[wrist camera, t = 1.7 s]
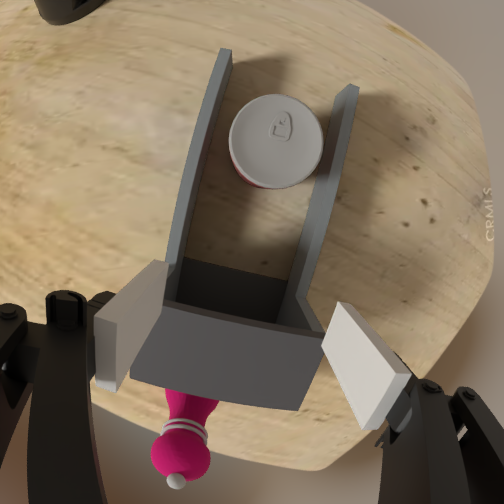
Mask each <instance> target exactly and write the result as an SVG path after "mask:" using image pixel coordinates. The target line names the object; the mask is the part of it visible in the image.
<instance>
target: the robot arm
mask: <svg viewBox="0 0 504 504" xmlns="http://www.w3.org/2000/svg"><path fill="white" fill-rule="evenodd" d="M34 1H35V4H36V6H37V8H38V10H39V14H40V16H41V17H42V18H43V19H44V20H45V21H46V22H48V23H49V24H51V25H64V24H68V23H71V22H73V21H75V20H78V19H80V18H81V17H83V16H85V15H87V14H88V13H90V12H91V11H93V10H94V9H95V8H97V7H98V6H99V5H101V4H102V3H103V2H104V1H105V0H34ZM168 267H169V263H167V262H163V261H159V260H155V259H154V260H153V261H152V262H151V263H150V264H149V265H148V266H147V267H145V268H144V269H143V270H142V271H141V272H140V273H139V274H138V275H137V276H136V277H134V278H133V279H132V280H131V281H130V282H129V283H128V284H127V285H126V286H125V287H124V288H123V289H121V290H120V291H119V292H118V293H117V294H115V293H112V292H109V291H105V292H102V293H99V294H96V295H95V296H94V297H93V298H92V299H91V300H89V301H88V302H87V300H86V298H85V297H84V296H83V295H82V294H79V293H77V292H74V291H69V290H59V291H54V292H51V293H49V294H48V295H47V296H46V318H47V324H46V325H45V324H38V323H33V322H29V321H27V314H26V310H25V309H24V308H23V307H21V306H19V305H16V304H12V303H4V304H2V305H0V468H1V465H2V462H3V459H4V456H5V454H6V451H7V448H8V445H9V443H10V440H11V437H12V435H13V433H14V430H15V428H16V425H17V423H18V421H19V418H20V416H21V414H22V411H23V409H24V406H25V405H26V403H27V400H28V398H29V396H30V394H31V392H32V390H33V392H32V399H31V407H30V416H29V428H28V429H29V430H28V446H27V482H28V499H29V504H108V502H107V498H106V494H105V490H104V485H103V481H102V476H101V471H100V466H99V460H98V455H97V448H96V441H95V434H94V426H93V417H92V406H91V393H90V380H91V379H92V377H93V376H94V374H95V382H96V386H97V387H100V388H103V389H106V390H108V391H111V392H114V393H117V391H118V389H119V387H120V385H121V383H122V381H123V380H124V378H125V376H126V374H127V372H128V370H129V369H130V367H131V365H132V363H133V361H134V360H135V358H136V356H137V354H138V352H139V351H140V349H141V347H142V345H143V343H144V342H145V340H146V338H147V336H148V335H149V333H150V331H151V329H152V328H153V326H154V324H155V323H156V321H157V319H158V317H159V316H160V314H161V311H162V304H163V297H164V291H165V285H166V278H167V273H168ZM321 347H322V349H323V351H324V353H325V355H326V357H327V359H328V361H329V363H330V365H331V367H332V369H333V371H334V373H335V375H336V377H337V379H338V381H339V383H340V385H341V387H342V390H343V392H344V394H345V396H346V398H347V400H348V402H349V404H350V406H351V408H352V410H353V412H354V414H355V417H356V419H357V421H358V423H359V425H360V427H361V429H362V430H374V429H378V428H379V427H380V425H381V424H382V422H383V421H384V420H385V418H386V419H387V421H388V423H389V425H388V427H387V428H386V430H385V431H384V433H383V434H382V435H381V437H380V438H379V439H378V441H377V442H376V444H375V447H377V446H378V445H379V444H380V442H384V443H383V445H382V446H381V448H383V460H382V473H381V483H380V492H379V500H378V504H504V429H503V428H502V426H501V425H500V424H499V422H498V421H497V419H496V418H495V416H494V415H493V414H492V412H491V411H490V409H489V408H488V407H487V405H486V404H485V403H484V401H483V400H482V399H481V397H480V396H479V395H478V394H477V393H476V392H475V391H474V390H473V389H471V388H469V387H459V388H457V390H456V392H455V393H454V395H453V396H448V395H445V394H444V391H443V390H442V388H441V387H440V386H439V385H438V384H436V383H435V382H433V381H430V380H428V379H418V378H417V377H416V376H415V374H414V373H413V372H412V371H411V370H410V369H409V367H408V366H406V364H405V363H404V362H403V361H402V359H401V358H400V357H399V356H398V355H397V354H396V353H395V352H394V351H392V350H391V349H390V348H389V346H388V345H387V344H386V343H385V342H384V341H383V339H382V338H381V337H380V336H379V335H378V334H377V333H376V332H375V330H374V329H373V328H372V327H371V326H370V325H369V324H368V323H367V321H366V320H365V319H364V318H363V317H362V316H361V315H360V314H359V312H358V311H357V310H356V309H355V308H354V307H353V306H352V305H351V304H350V303H345V302H340V301H338V303H337V305H336V308H335V311H334V314H333V316H332V319H331V322H330V324H329V327H328V329H327V332H326V335H325V337H324V340H323V342H322V345H321ZM464 426H466V428H467V429H468V430H467V432H466V433H465V434H464V435H463V437H462V438H461V439H460V441H458V437H457V435H458V433H459V432H460V431H461V430H462V428H463V427H464Z"/></svg>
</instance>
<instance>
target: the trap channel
mask: <svg viewBox="0 0 504 504" xmlns="http://www.w3.org/2000/svg"><path fill="white" fill-rule="evenodd" d="M232 68H233V65H232V50H230V49H224V48H220V51H219V54H218V57H217V60H216V62H215V65H214V68H213V71H212V74H211V77H210V80H209V83H208V86H207V90H206V93H205V96H204V99H203V102H202V106H201V109H200V112H199V116H198V119H197V123H196V126H195V130H194V133H193V137H192V141H191V144H190V148H189V152H188V156H187V160H186V164H185V168H184V172H183V176H182V180H181V184H180V189H179V193H178V197H177V202H176V207H175V211H174V216H173V221H172V226H171V231H170V236H169V241H168V247H167V252H166V258H165V262H167V263H169V267H168V273H167V278H166V285H165V291H164V297H163V304H162V311H161V314H160V316H159V317H158V319H157V321H156V323H155V324H154V326H153V328H152V329H151V331H150V333H149V335H148V336H147V338H146V340H145V342H144V343H143V345H142V347H141V349H140V351H139V352H138V354H137V356H136V358H135V360H134V361H133V363H132V365H131V367H130V378H131V379H135V380H138V381H141V382H145V383H148V384H151V385H155V386H159V387H162V388H166V389H170V390H174V391H178V392H182V393H186V394H191V395H195V396H200V397H204V398H209V399H214V400H220V401H225V402H231V403H237V404H243V405H249V406H257V407H264V408H272V409H281V410H291V411H298V410H299V408H300V406H301V404H302V402H303V399H304V397H305V395H306V393H307V391H308V389H309V387H310V384H311V382H312V380H313V378H314V376H315V373H316V371H317V369H318V366H319V364H320V362H321V359H322V357H323V355H324V351H323V349H322V347H321V345H322V342H323V340H324V337H325V335H326V333H325V331H324V329H323V328H322V326H321V324H320V322H319V321H318V319H317V317H316V315H315V314H314V312H313V310H312V308H311V307H310V305H309V303H308V301H307V300H306V295H307V292H308V289H309V286H310V283H311V280H312V276H313V273H314V270H315V267H316V263H317V260H318V257H319V253H320V250H321V247H322V243H323V240H324V236H325V233H326V229H327V226H328V222H329V219H330V215H331V211H332V207H333V204H334V200H335V196H336V192H337V188H338V184H339V180H340V176H341V172H342V168H343V164H344V160H345V155H346V151H347V147H348V142H349V138H350V133H351V129H352V124H353V119H354V114H355V109H356V104H357V99H358V94H359V88H360V87H357V86H355V85H353V84H349V85H347V86H346V87H345V88H344V89H343V90H342V91H341V92H339V93H338V94H337V95H336V97H335V101H334V106H333V110H332V115H331V119H330V123H329V128H328V132H327V136H326V141H325V145H324V149H323V153H322V157H321V161H320V165H319V169H318V173H317V177H316V181H315V185H314V189H313V193H312V197H311V200H310V204H309V208H308V212H307V215H306V219H305V223H304V226H303V230H302V234H301V237H300V241H299V244H298V248H297V251H296V255H295V258H294V262H293V265H292V269H291V272H290V276H289V279H288V281H285V280H280V279H276V278H271V277H267V276H262V275H258V274H254V273H249V272H245V271H240V270H236V269H232V268H228V267H223V266H219V265H215V264H211V263H206V262H202V261H198V260H194V259H190V258H186V257H184V253H185V248H186V243H187V238H188V234H189V229H190V224H191V220H192V215H193V211H194V206H195V202H196V198H197V193H198V189H199V185H200V181H201V177H202V173H203V169H204V165H205V161H206V157H207V153H208V149H209V145H210V142H211V138H212V134H213V131H214V127H215V124H216V120H217V117H218V113H219V110H220V106H221V103H222V100H223V96H224V93H225V90H226V87H227V83H228V80H229V77H230V74H231V71H232Z"/></svg>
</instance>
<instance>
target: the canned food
mask: <svg viewBox="0 0 504 504" xmlns="http://www.w3.org/2000/svg"><path fill="white" fill-rule="evenodd" d="M323 143H324V142H323V132H322V129H321V125H320V123H319V121H318V119H317V117H316V115H315V114H314V113H313V112H312V110H311V109H310V108H309V107H308V106H307V105H305V104H304V103H303V102H301V101H299V100H298V99H296V98H293V97H291V96H288V95H282V94H268V95H264V96H260V97H258V98H256V99H254V100H252V101H250V102H249V103H247V104H246V105H245V106H244V107H243V108H242V109H241V110H240V111H239V112H238V114H237V115H236V117H235V119H234V121H233V123H232V126H231V129H230V134H229V151H230V155H231V159H232V162H233V165H234V167H235V169H236V171H237V173H238V174H239V176H240V177H241V178H242V179H243V180H244V181H245V182H247V183H248V184H250V185H252V186H255V187H258V188H265V189H283V188H287V187H291V186H294V185H296V184H298V183H300V182H302V181H303V180H304V179H305V178H307V177H308V176H309V175H310V174H311V173H312V172H313V171H314V169H315V168H316V166H317V164H318V163H319V161H320V158H321V155H322V152H323Z"/></svg>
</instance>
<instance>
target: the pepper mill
mask: <svg viewBox="0 0 504 504" xmlns="http://www.w3.org/2000/svg"><path fill="white" fill-rule="evenodd" d="M165 392H166V399H167V402H168V405H169V409H170V417H169V420H168V421H166V422H165V423H164V425H163V427H162V431H161V436H160V437H158V438H157V439H156V440H155V442H154V443H153V445H152V448H151V459H152V462H153V464H154V466H155V468H156V469H157V470H158V471H159V472H160V473H161V474H163V475H164V476H166V477H167V483H168V485H169V486H170V487H172V488H174V489H181V488H183V487H184V486H185V484H186V481H192V480H195V479H198V478H200V477H201V476H203V475H204V473H206V471H207V470H208V468H209V465H210V452H209V449H208V448H207V446H206V445H207V438H208V434H207V431H206V430H205V428H204V426H205V422H206V419H207V417H208V416H209V415H210V413H211V412H212V411H213V410H214V409H215V408H216V406H217V404H218V402H219V400H214V399H209V398H204V397H200V396H195V395H191V394H186V393H182V392H178V391H174V390H170V389H166V388H165Z"/></svg>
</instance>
